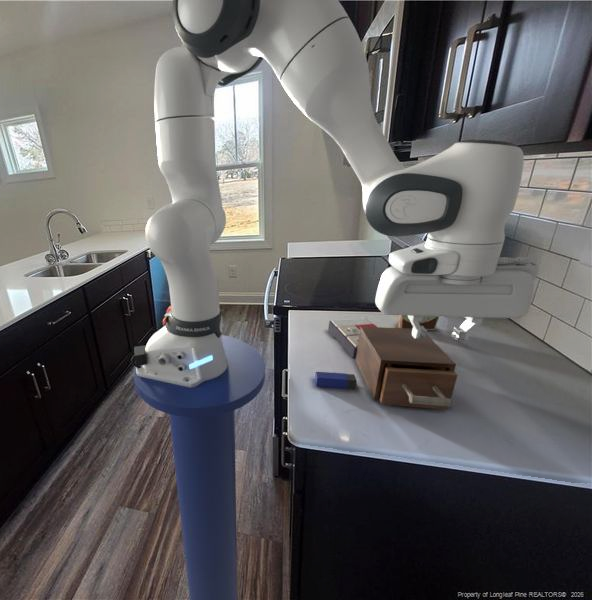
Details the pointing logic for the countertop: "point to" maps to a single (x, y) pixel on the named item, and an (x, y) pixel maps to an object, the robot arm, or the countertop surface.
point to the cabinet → (395, 353)
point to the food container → (427, 322)
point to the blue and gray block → (335, 380)
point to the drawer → (417, 386)
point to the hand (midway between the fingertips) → (438, 338)
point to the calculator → (348, 332)
